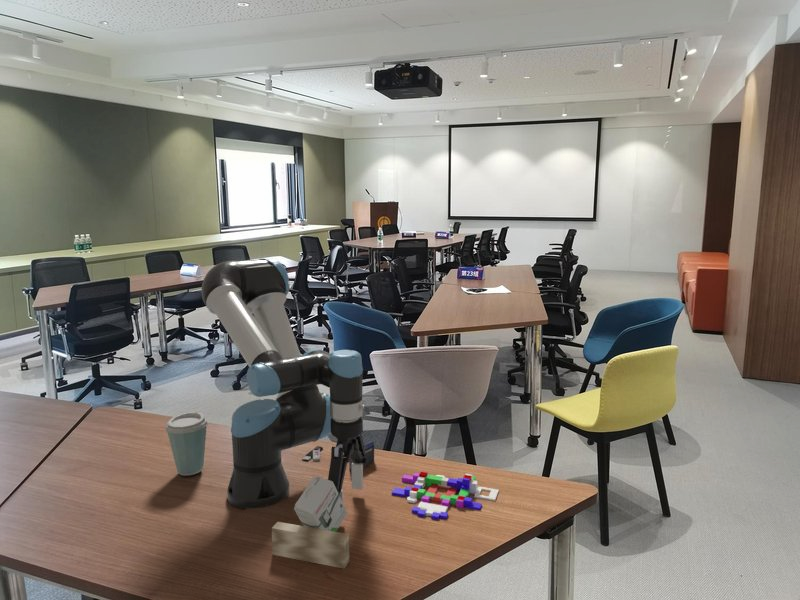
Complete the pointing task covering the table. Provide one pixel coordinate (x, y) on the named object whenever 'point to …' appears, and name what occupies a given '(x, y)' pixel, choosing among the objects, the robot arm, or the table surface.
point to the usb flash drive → (314, 454)
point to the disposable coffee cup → (188, 441)
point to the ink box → (321, 506)
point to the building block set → (435, 483)
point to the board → (310, 544)
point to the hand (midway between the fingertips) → (347, 502)
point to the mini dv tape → (369, 454)
